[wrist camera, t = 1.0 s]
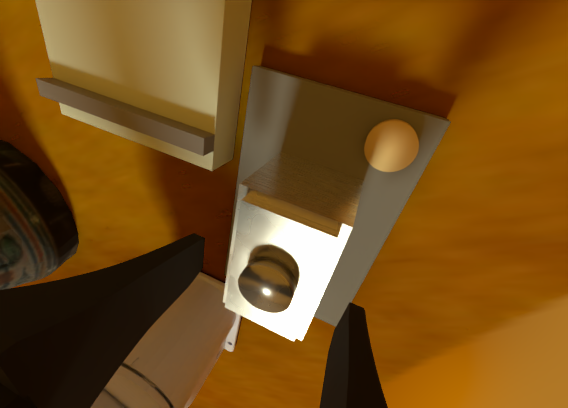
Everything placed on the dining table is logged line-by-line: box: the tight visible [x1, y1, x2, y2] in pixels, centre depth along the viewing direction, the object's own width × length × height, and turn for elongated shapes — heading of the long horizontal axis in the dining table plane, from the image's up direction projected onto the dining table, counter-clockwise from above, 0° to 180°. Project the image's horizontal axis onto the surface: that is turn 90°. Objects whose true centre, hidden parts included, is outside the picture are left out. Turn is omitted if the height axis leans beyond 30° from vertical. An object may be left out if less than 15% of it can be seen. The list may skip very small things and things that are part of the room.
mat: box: [224, 66, 450, 326], centre depth 17 cm, size 16×10×2 cm, turn 167°
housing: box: [223, 152, 364, 341], centre depth 14 cm, size 8×5×6 cm, turn 167°
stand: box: [35, 0, 252, 171], centre depth 14 cm, size 12×12×4 cm
